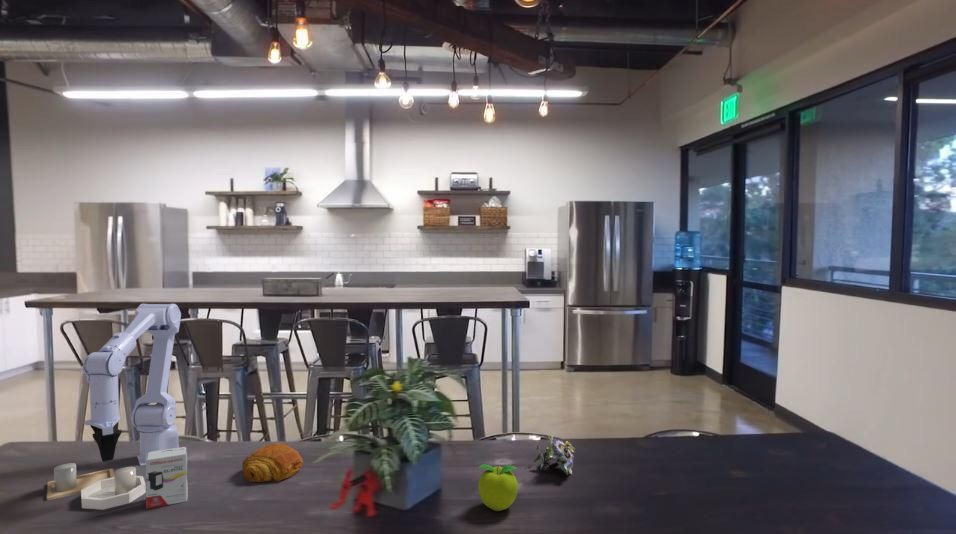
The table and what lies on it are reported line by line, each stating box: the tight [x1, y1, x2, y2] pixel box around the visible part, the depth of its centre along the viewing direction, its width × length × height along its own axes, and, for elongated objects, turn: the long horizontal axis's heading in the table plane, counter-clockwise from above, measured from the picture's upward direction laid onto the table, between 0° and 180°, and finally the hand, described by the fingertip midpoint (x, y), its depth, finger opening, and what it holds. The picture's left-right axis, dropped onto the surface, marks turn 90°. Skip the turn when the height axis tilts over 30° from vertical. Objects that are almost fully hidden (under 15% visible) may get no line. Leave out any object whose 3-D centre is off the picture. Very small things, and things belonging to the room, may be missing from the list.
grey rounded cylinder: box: [113, 466, 137, 495], centre depth 132 cm, size 4×4×5 cm
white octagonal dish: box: [80, 475, 146, 511], centre depth 130 cm, size 13×13×3 cm
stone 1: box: [53, 462, 78, 492], centre depth 134 cm, size 4×4×5 cm
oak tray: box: [46, 468, 115, 501], centre depth 136 cm, size 14×11×1 cm
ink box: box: [145, 446, 189, 510], centre depth 128 cm, size 9×5×12 cm, turn 117°
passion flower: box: [533, 435, 577, 476], centre depth 146 cm, size 11×11×12 cm
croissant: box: [241, 442, 304, 483], centre depth 145 cm, size 14×16×8 cm
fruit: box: [477, 463, 519, 512], centre depth 126 cm, size 9×9×10 cm
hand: (106, 455), depth 132 cm, fingers open, 7 cm apart
